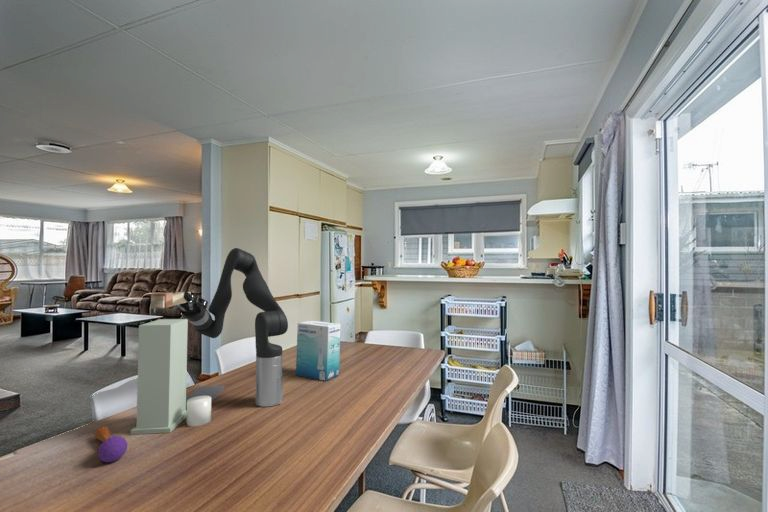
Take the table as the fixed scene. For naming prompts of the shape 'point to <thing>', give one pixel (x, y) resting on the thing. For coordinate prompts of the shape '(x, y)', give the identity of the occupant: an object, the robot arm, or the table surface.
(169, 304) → the catapult arm
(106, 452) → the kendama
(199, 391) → the mat
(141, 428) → the stand
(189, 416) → the white short cylinder
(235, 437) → the table surface
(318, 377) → the toothbrush box
